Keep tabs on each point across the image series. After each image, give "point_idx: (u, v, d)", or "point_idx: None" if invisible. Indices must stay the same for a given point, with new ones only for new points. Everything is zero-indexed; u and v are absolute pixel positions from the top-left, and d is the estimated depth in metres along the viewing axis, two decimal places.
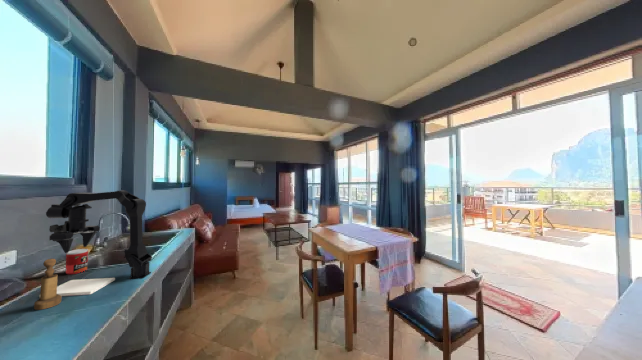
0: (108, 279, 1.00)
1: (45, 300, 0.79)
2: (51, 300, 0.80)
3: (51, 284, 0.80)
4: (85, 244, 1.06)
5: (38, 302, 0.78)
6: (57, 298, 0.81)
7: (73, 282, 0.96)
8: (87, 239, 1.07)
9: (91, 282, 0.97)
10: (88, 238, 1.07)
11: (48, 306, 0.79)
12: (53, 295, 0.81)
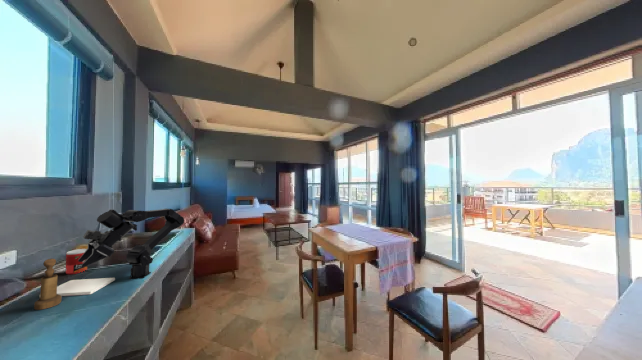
0: (108, 279, 1.00)
1: (45, 300, 0.79)
2: (51, 300, 0.80)
3: (51, 284, 0.80)
4: (82, 259, 0.91)
5: (38, 302, 0.78)
6: (57, 298, 0.81)
7: (73, 282, 0.96)
8: (90, 254, 0.93)
9: (91, 282, 0.97)
10: (91, 254, 0.94)
11: (48, 306, 0.79)
12: (53, 295, 0.81)
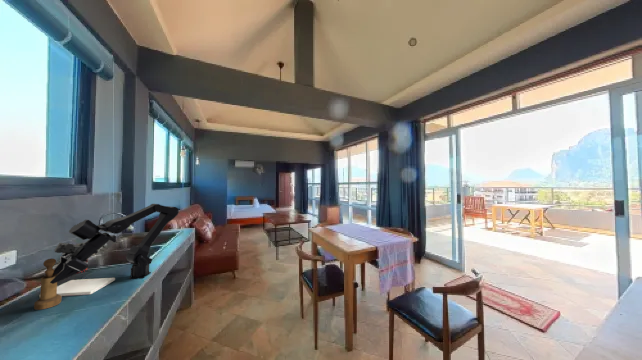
0: (108, 279, 1.00)
1: (45, 300, 0.79)
2: (51, 300, 0.80)
3: (51, 284, 0.80)
4: (54, 274, 0.85)
5: (38, 302, 0.78)
6: (57, 298, 0.81)
7: (73, 282, 0.96)
8: (62, 269, 0.87)
9: (91, 282, 0.97)
10: None
11: (48, 306, 0.79)
12: (53, 295, 0.81)
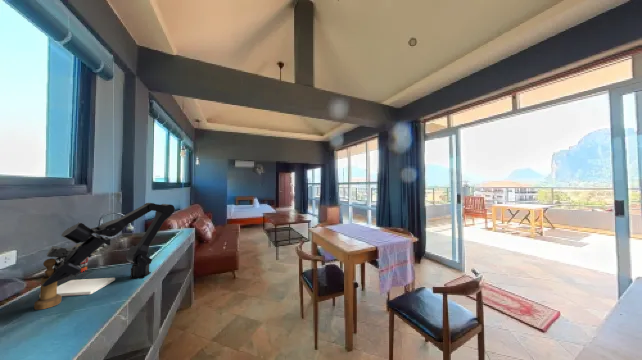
0: (108, 279, 1.00)
1: (45, 300, 0.79)
2: (51, 300, 0.80)
3: (51, 284, 0.80)
4: None
5: (38, 301, 0.78)
6: (57, 298, 0.81)
7: (73, 282, 0.96)
8: None
9: (91, 282, 0.97)
10: None
11: (48, 306, 0.79)
12: (53, 295, 0.81)
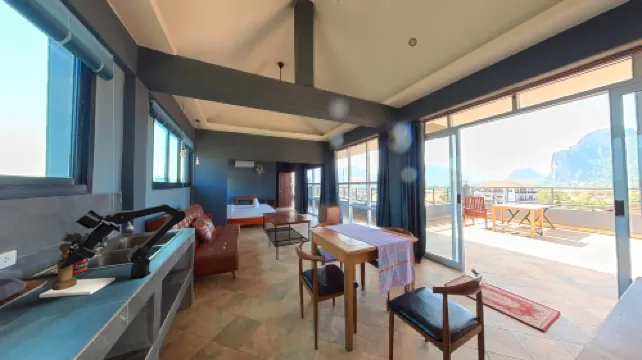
0: (108, 279, 1.00)
1: (62, 282, 0.84)
2: (67, 281, 0.85)
3: (67, 267, 0.86)
4: None
5: (56, 283, 0.84)
6: (73, 280, 0.87)
7: None
8: None
9: (91, 282, 0.97)
10: None
11: (65, 287, 0.85)
12: (69, 277, 0.86)
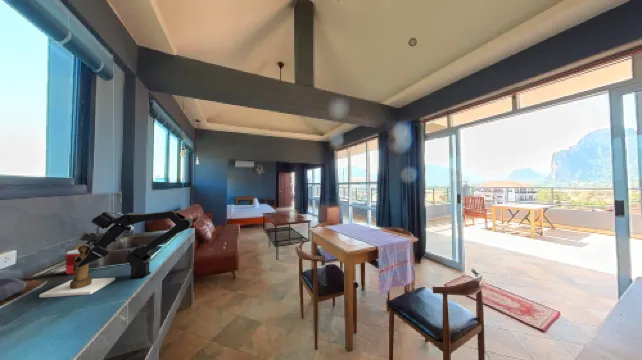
0: (108, 279, 1.00)
1: (79, 280, 0.92)
2: (84, 280, 0.93)
3: (84, 267, 0.93)
4: (78, 259, 0.96)
5: (73, 282, 0.91)
6: (89, 279, 0.94)
7: None
8: None
9: None
10: None
11: (82, 286, 0.92)
12: (85, 277, 0.94)
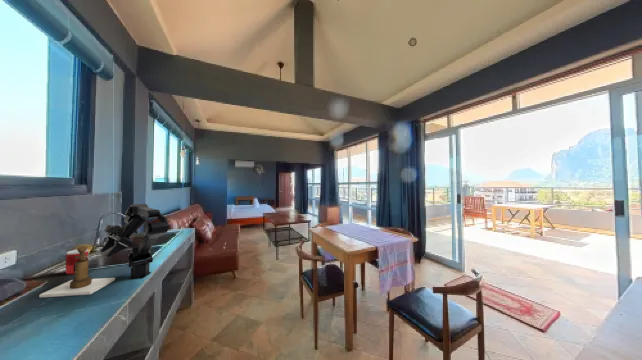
0: (108, 279, 1.00)
1: (79, 280, 0.92)
2: (84, 280, 0.93)
3: (84, 267, 0.93)
4: (104, 250, 1.03)
5: (73, 282, 0.91)
6: (88, 279, 0.94)
7: None
8: (110, 245, 1.05)
9: None
10: (111, 245, 1.06)
11: (82, 286, 0.92)
12: (85, 277, 0.94)
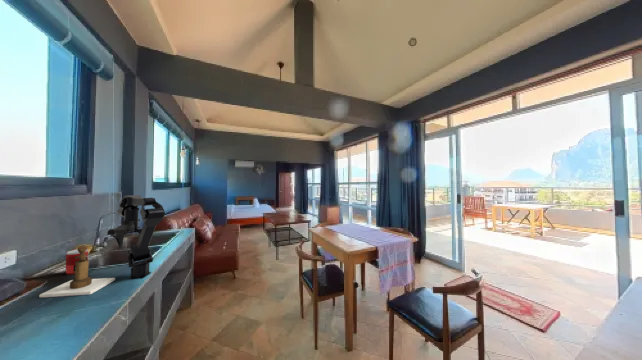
0: (108, 279, 1.00)
1: (79, 280, 0.92)
2: (84, 280, 0.93)
3: (84, 267, 0.93)
4: (121, 244, 1.12)
5: (73, 282, 0.91)
6: (89, 279, 0.94)
7: None
8: (122, 239, 1.13)
9: None
10: (122, 238, 1.13)
11: (82, 286, 0.92)
12: (85, 277, 0.94)
